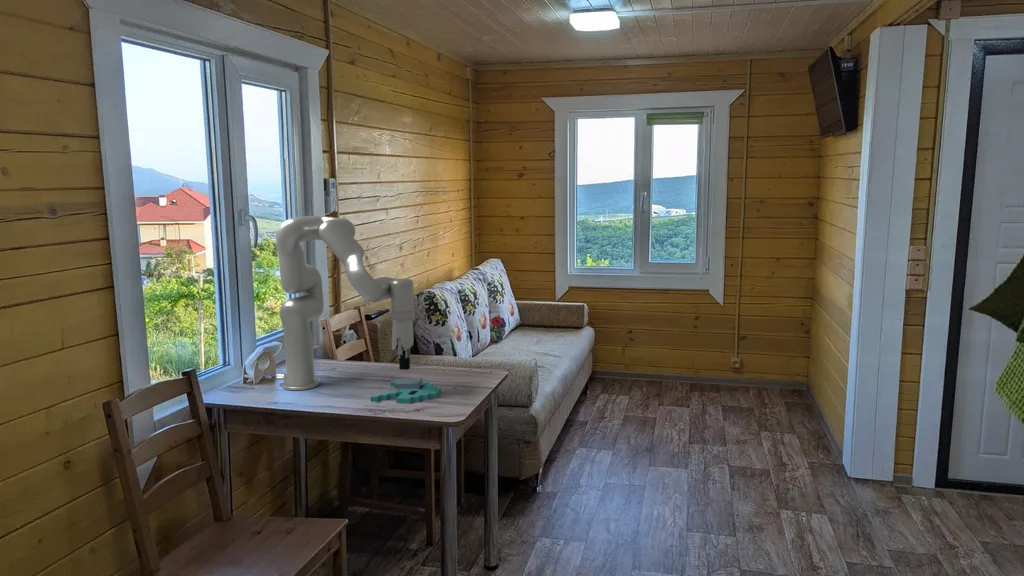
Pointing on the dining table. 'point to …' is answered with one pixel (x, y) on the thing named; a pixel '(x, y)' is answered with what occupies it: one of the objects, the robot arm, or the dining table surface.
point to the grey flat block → (408, 383)
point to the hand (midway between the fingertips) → (404, 369)
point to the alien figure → (410, 394)
